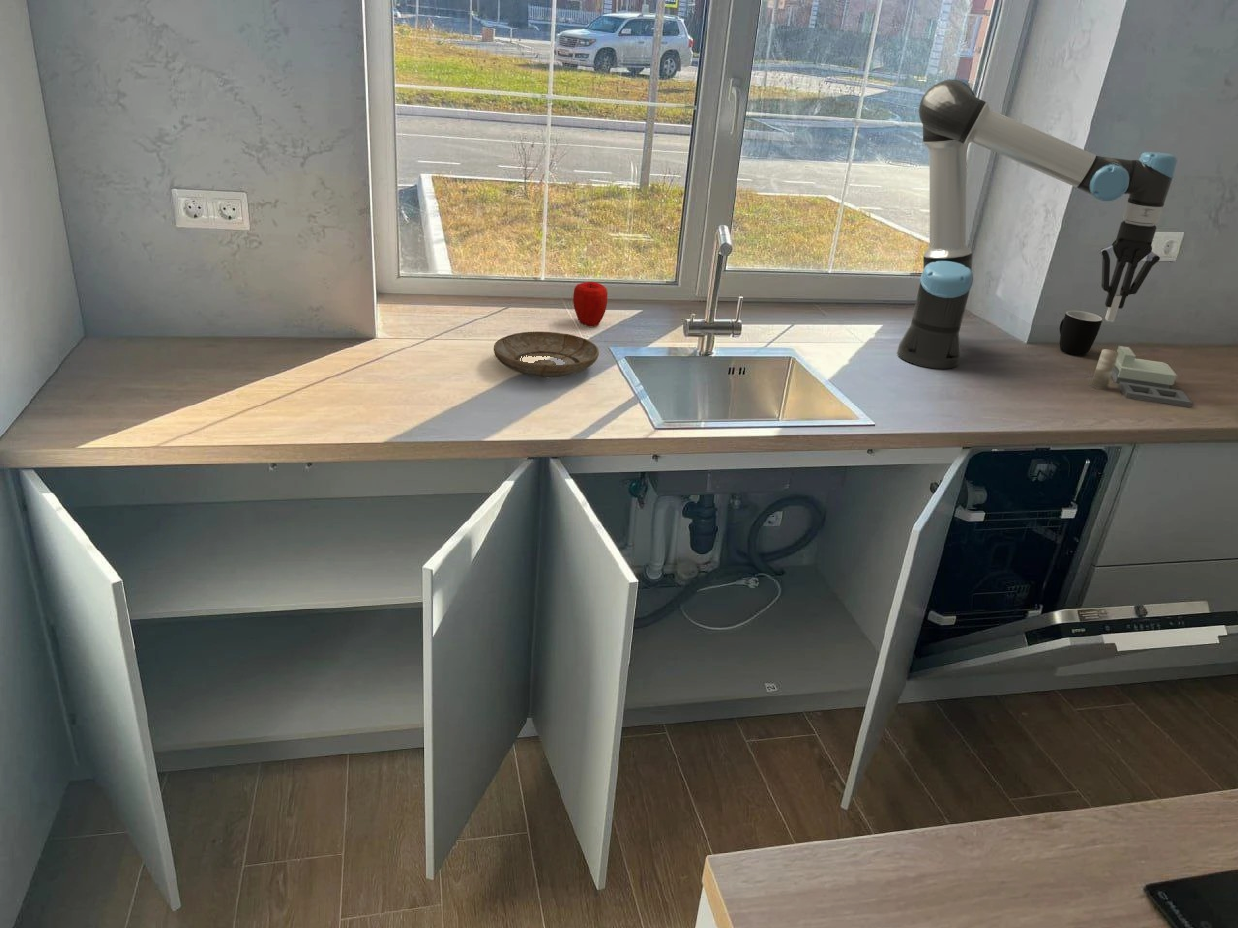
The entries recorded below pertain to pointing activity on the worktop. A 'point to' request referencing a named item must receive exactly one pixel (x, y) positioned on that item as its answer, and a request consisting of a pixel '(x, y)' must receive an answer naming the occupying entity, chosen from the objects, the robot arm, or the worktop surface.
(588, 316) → the apple
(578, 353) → the brown round shallow bowl
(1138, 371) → the cover
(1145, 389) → the socket board
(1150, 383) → the board
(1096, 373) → the pin
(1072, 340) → the mug
